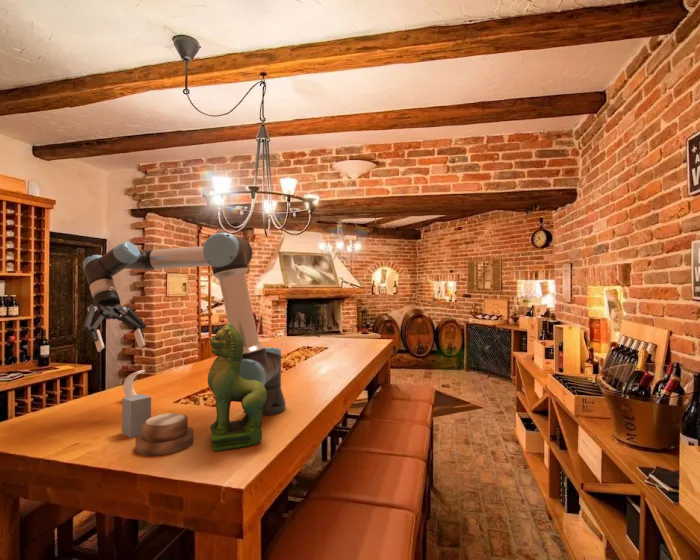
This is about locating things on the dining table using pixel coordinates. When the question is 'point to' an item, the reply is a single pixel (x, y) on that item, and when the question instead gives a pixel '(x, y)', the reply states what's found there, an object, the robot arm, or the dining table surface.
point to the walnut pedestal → (164, 435)
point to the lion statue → (234, 394)
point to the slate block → (135, 414)
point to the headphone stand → (130, 384)
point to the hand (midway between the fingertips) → (122, 348)
